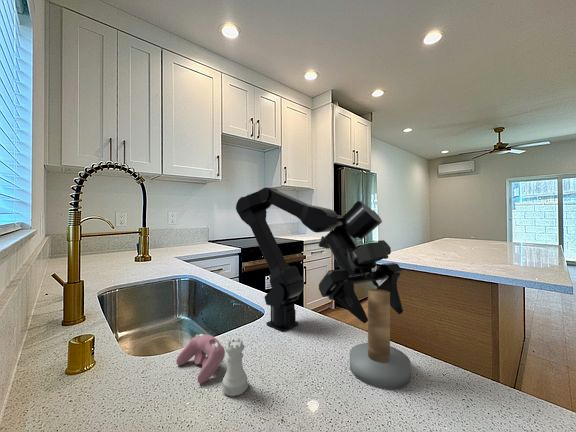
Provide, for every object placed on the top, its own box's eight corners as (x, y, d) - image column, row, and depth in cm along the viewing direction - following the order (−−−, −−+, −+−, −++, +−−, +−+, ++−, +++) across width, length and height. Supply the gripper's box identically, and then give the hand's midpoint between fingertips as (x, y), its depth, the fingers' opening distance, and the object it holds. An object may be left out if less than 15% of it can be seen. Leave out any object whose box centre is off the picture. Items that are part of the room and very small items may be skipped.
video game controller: (218, 385, 47) (232, 345, 49) (197, 385, 44) (213, 342, 46) (192, 365, 53) (205, 330, 56) (172, 363, 50) (188, 326, 53)
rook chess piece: (216, 392, 42) (215, 344, 43) (233, 377, 46) (233, 334, 46) (236, 401, 40) (236, 351, 40) (253, 384, 44) (253, 339, 44)
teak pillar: (364, 356, 49) (364, 292, 48) (373, 348, 51) (373, 287, 51) (385, 365, 46) (384, 296, 46) (393, 356, 49) (393, 291, 49)
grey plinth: (339, 370, 48) (339, 357, 48) (365, 348, 56) (365, 337, 56) (398, 398, 41) (398, 383, 41) (418, 368, 49) (418, 355, 49)
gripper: (326, 228, 48) (370, 304, 38) (395, 226, 56) (445, 288, 47) (305, 263, 55) (337, 334, 45) (369, 257, 63) (407, 316, 54)
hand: (384, 317), depth 47 cm, fingers open, 9 cm apart
